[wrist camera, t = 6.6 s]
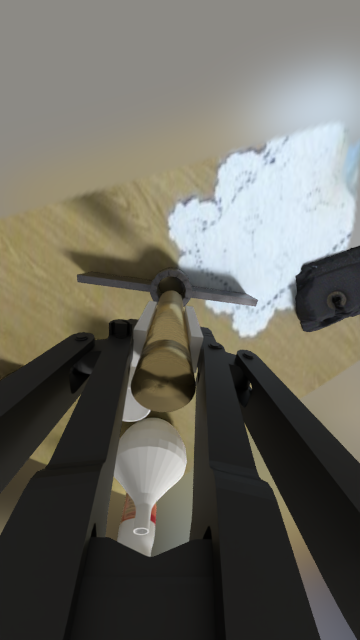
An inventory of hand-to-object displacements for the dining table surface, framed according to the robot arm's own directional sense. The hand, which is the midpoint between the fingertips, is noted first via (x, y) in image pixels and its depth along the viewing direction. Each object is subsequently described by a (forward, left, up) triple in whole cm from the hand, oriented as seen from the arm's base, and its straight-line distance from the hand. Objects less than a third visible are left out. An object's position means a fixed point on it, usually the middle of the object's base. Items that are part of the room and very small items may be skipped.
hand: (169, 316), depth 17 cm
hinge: (0, 0, -18) cm, 18 cm away
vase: (0, -42, -18) cm, 46 cm away
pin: (0, 0, -5) cm, 5 cm away
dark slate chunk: (+36, +5, -19) cm, 41 cm away
